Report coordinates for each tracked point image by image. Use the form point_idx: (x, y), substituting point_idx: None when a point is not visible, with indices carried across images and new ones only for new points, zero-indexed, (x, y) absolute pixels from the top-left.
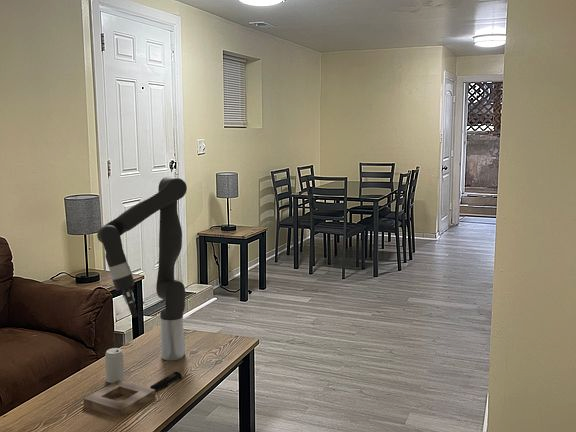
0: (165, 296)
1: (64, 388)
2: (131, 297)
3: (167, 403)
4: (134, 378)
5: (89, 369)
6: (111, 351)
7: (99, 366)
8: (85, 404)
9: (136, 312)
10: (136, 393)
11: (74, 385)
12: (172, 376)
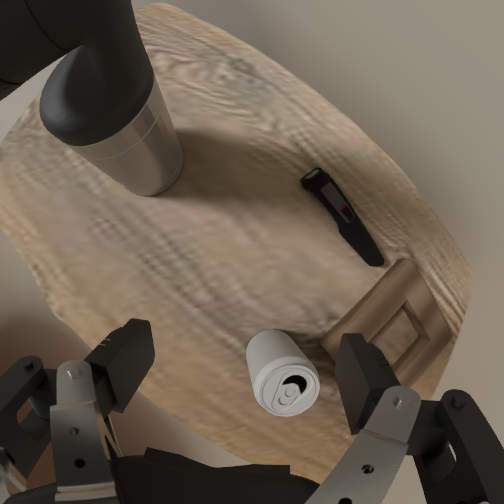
0: (89, 17)
1: (268, 451)
2: (499, 472)
3: (425, 238)
4: (273, 298)
5: (167, 404)
6: (292, 400)
7: (152, 380)
8: None
9: (367, 355)
10: (412, 305)
11: (259, 436)
12: (338, 195)
